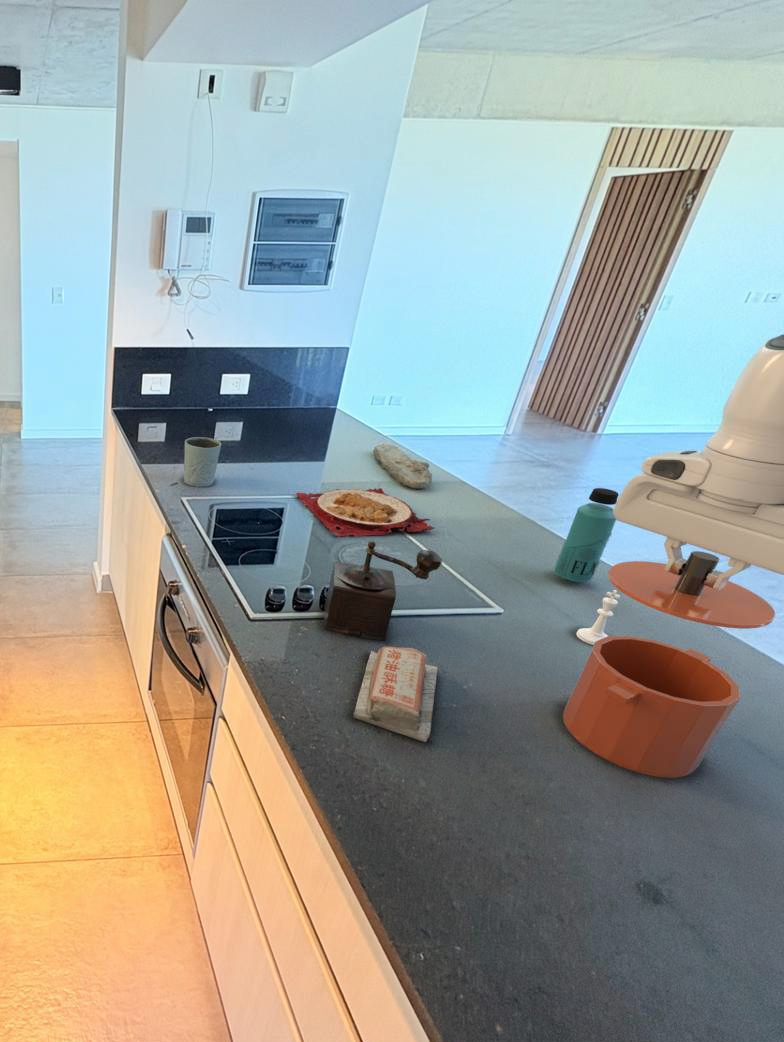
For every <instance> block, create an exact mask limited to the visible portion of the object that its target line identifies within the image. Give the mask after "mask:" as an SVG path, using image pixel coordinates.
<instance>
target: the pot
mask: <svg viewBox="0 0 784 1042" xmlns="http://www.w3.org/2000/svg"><path fill="white" fill-rule="evenodd" d="M711 660H712V657H711V656H709V655H707V654H705V653H702V652H700V651H697V650H695V649H693V648H688V649H685V650H684V649H682V648H680V647H678V646H674V645H671V644H667V643H664V642H660V641H657V640H654V639H649V638H644V637H643V638H642V637H637V636H630V635H608V637H605V638H603V639H600V640H598V641H596V642H595V643H594V645H592V648H591V650H590V652H589V654H588V656H587V658H586V660H585V663H584V665H583V667H582V669H581V672H580V674H579V676H578V678H577V680H576V683H575V684H574V687H573V689H572V691H571V693H570V695H569V698H568V700H567V702H566V704H565V707H564V711H563V713H562V720H563V723H564V726H565V727H566V729H567V730H568V732H569V733H570V734H571V735H572V736H573V737H574V738H575V740H577V742H578V743H580V744H581V745H583V746H584V747H585V748H587V749H588V750H590V751H591V752H592V753H594V754H595V755H597V756H599V757H601V758H603V759H604V760H606V761H609V762H610V763H612V764H615V765H617V766H619V767H622V768H625V769H626V770H629V771H633V772H636V773H640V774H643V775H647V776H652V777H656V778H664V779H665V778H667V779H674V778H677V779H678V778H682V777H687V776H688V775H690V774H692V773H693V772H694V771H695V770H697V769H698V768H699V766H700V764H701V763H702V761H703V759H704V758H705V756H706V755H707V753H708V752H709V750H710V748H711V746H712V745H713V743H714V742H715V740H716V739H717V737H718V735H719V734H720V732H721V730H722V729H723V727H724V725H725V724H726V723H727V722H728V719H729V718H730V716H731V715H732V712H733V711H734V709H735V707H736V706H737V705H738V703H739V702H740V700H741V691H740V686H739V685H738V684H737V682H736V681H734V679H732V677H731V676H730V675H729V674H728V673H727V672H726V671H724V670H722V669H721V668H719V667H717V666H716V665H714V664H713V663H711Z"/></svg>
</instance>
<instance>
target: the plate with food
mask: <svg viewBox="0 0 784 1042" xmlns="http://www.w3.org/2000/svg"><path fill="white" fill-rule="evenodd" d="M295 494H296V498H297V499H299V501H300V502H301V504H302V505H304V506H305V507H307V508H308V510H309V511H310V512H312V513H313V515H314V516H316V518H317V519H318V520H319V521H320V522H322V524H323V526H324V527H326V529H328V531H330V533H331V534H332V535H333V536H334V537H349V536H353V537H363V536H382V535H388V534H390V533H392V530H391V529H394V528H397V530H398V531H399V532H401V531H402V532H403V531H405V529H406V532H407V533H416V532H421V531H427V530H428V531H432V530H434V529H435V528H436V527H435V526H431V525H428V523H426V522H427V521H431V519H430V518H419V517H418V516H417V513H415V512H414V511H413V509H412V508H411V506H410V505H409V504H407V503H406V502H405V501H403V500H402V499H399V498H397V497H395V496H390V495H388V494H386V493H385V491H383V488H381V487H379V488H378V489H377V488H373V489H372V488H369V489H356V488H353V489H351V488H350V489H340V488H336V489H334V490H329V491H327V492H323V493H319V492H317V493H311V492H309V494H308V493H306V492H300V491H299V492H296V493H295ZM425 521H426V522H425ZM337 527H338V528H340V529H337ZM335 534H336V535H335Z"/></svg>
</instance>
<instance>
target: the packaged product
mask: <svg viewBox="0 0 784 1042" xmlns="http://www.w3.org/2000/svg"><path fill="white" fill-rule="evenodd" d="M368 657H369V658H368V661H367V664H366V667H365V671H364V676H363V679H362V683H361V686H360V689H359V692H358V696H357V701H356V705H355V709H354V712H353V717H354V719H357V720H359V721H363V722H364V723H368V724H370V725H374V726H376V727H379V728H382V729H384V730H388V731H391V732H394V733H396V734H400V735H403V736H406V737H408V738H411V739H415V740H417V741H421V742H423V743H427V740H428V739H429V737H430V735H431V729H432V719H433V710H434V702H435V692H436V685H437V684H436V683H437V676H438V667H437V666H434V665H431V664H428V663H427V658H428V656H427V654H426V653H424V652H421V650H419V649H416V648H414V647H399V646H398V647H397V646H392V645H391V646H382V647H380V648H379V649H378V651H377V652H375V651H373V650H371V651H370V654H369V656H368ZM426 663H427V664H426Z"/></svg>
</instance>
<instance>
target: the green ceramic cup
mask: <svg viewBox="0 0 784 1042" xmlns="http://www.w3.org/2000/svg"><path fill="white" fill-rule="evenodd" d="M221 448H222V442H221V441H219V440H217V439H215V438H211V437H205V436H193V437H189V438H186V439H185V440H184V457H183V458H184V460H183V471H184V472H183V483H184V484H186V485H188V486H191V487H195V488H196V487H198V488H205V487H210V486H212V485H213V484H214V482H215V477H216V472H217V466H218V463H219V462H218V461H219V457H220V452H221Z"/></svg>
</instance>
